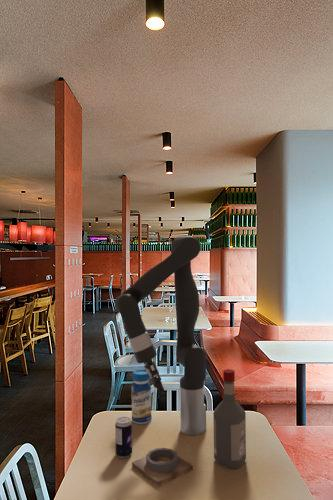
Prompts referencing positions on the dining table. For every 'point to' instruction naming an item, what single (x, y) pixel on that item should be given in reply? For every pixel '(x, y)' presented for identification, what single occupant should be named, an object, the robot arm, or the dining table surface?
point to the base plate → (165, 477)
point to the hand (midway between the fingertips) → (159, 389)
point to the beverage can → (123, 437)
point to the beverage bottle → (141, 397)
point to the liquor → (229, 427)
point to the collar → (162, 466)
